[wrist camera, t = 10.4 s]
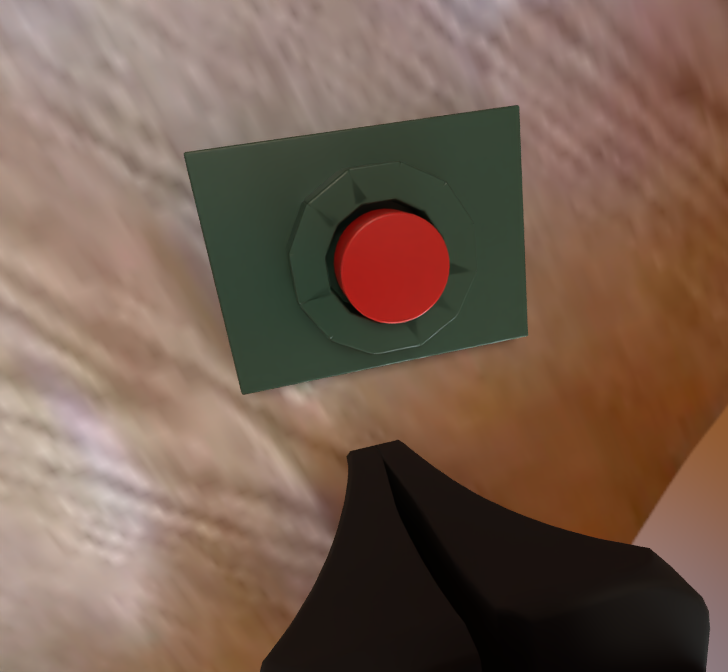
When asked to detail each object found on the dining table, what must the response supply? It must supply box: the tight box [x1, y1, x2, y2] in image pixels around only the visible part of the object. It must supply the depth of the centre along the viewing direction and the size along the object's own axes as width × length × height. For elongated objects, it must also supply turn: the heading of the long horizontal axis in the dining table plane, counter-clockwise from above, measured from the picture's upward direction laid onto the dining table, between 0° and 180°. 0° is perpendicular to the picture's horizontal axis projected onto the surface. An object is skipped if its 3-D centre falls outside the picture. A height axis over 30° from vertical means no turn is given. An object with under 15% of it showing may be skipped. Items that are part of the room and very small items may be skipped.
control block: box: [184, 105, 528, 395], centre depth 19 cm, size 12×9×4 cm
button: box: [334, 209, 450, 324], centre depth 17 cm, size 4×4×2 cm
